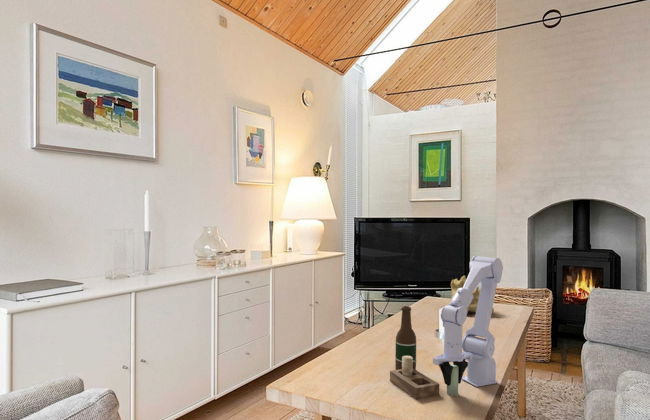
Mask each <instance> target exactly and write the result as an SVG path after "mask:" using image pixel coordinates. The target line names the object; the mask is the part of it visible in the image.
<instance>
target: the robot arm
mask: <svg viewBox="0 0 650 420" xmlns="http://www.w3.org/2000/svg"><path fill="white" fill-rule="evenodd" d="M503 270H504V266H503V261H502V260H501V258H499V257H487V256H481V255H480V256H478V255H473V256H472V258H471V259H470V261H469V273H468V275H467V277H466V281H465V283H464V286H463V288H459V289H458V290H457V291H456V293H455V295H454V297H453V298H452V297H451V298H452V300H451V299H450V300H451V302H450V303H449V302H448V303H449V305H448V304H447V305H444V306H443V307H442V308H441V312H440V319H441V321H442V327H443V329H444V332H443V333H444V334H443V337H444V338H443V353H442V354H440V355H437V356H433V358H432V364H434V365H436V366H438V367H439V369H440V371H441V373H442V377H443V382H444V385H446V386H447V385H448V386H449V385H450V384H451V373H452V370H453V366H451V365H456V366H458V385H460V384H461V382H462V380H463V381H465V382H467V383H469V384H470V385H472V386H474V387H476V388H477V387H478V388H479V387H483V386H488V385H494V384H498V381H497V380H496V379H497V377H496V375H497V374H496V372H497V370H496V369H497V365H496V361H495V358H494V357H493V355H494V354H495V348H496V347H495V340H496V339H495V337H494V335H493V334H492V333H491V332H490V330H489V329H490V328H489V327H490V322H491V318H492V313H493V312H492V308H493V309H494V301H495V297H496V291H497V285H498V284H499V283H501V280H502V275H503ZM479 284H481V285H480V289H481V290H480V295H479V300H478V305H477V310H476V313H475V315H474V316H475V317H474V320H473V321H474V322H473V325H472V326H471V327H470V328H468V329H467V330H465V334H464V336H463V325H464V324H465V322H466V321H467V315H468V312H469V311H467V309H468V307H469V305H470V303H471V301H472V300H473V294H472V292H473V291H474V290H475V289H476V288H477V287H478V286H479ZM451 363H452V364H451ZM465 371H466V376H463V375H464V374H465Z"/></svg>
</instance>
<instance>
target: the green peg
mask: <svg viewBox="0 0 650 420" xmlns="http://www.w3.org/2000/svg"><path fill="white" fill-rule="evenodd" d="M450 365H451V366H453V370H452V373H451V384H450V385H449V386H448V385H446V394H447V395H448V396H449V397H458V396H459V384H458V366H456V365H453V364H450Z"/></svg>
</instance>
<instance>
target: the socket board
mask: <svg viewBox="0 0 650 420" xmlns="http://www.w3.org/2000/svg"><path fill="white" fill-rule="evenodd" d="M389 382H391V383H392V384H393V385H395V386H397V387H398V388H400V389H401V390H402V391H404V392H405V393H406V394H408V395H409V396H411V397H413V398H414V399H416V400H419V399H423V398H424V399H425V398H429V397H434V396H440V383H438V382H437V381H435V380H434V379H432V378H430V377H428V376H427V375H425V374H423V373H422V372H421V371H418V370H415V369H413V371H412V376H406V377H405V376H403V375H402V369H399V370H396V369H394V370H389Z"/></svg>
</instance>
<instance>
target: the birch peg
mask: <svg viewBox="0 0 650 420" xmlns="http://www.w3.org/2000/svg"><path fill="white" fill-rule="evenodd" d="M412 371H413V357H411V356H403V357H402V375H403V376H405V377H406V376H412Z"/></svg>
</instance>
